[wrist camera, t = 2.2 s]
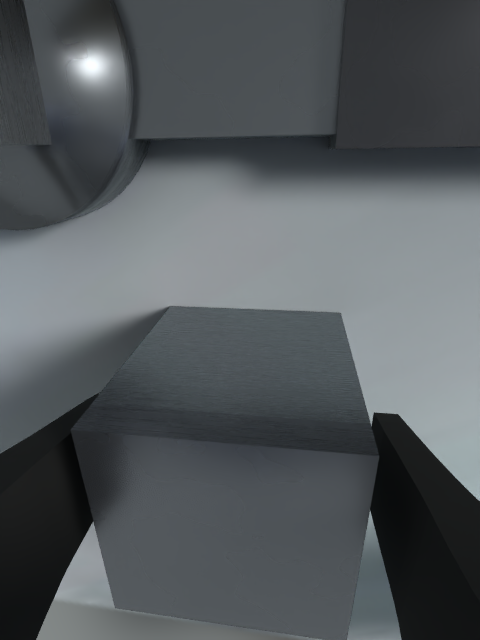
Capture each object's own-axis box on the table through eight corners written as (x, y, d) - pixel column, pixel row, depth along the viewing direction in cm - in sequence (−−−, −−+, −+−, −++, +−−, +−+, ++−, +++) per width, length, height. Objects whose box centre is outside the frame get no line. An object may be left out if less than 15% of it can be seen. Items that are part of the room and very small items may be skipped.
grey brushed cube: (340, 312, 12) (379, 456, 6) (326, 448, 14) (346, 642, 8) (170, 306, 12) (70, 430, 7) (183, 436, 14) (115, 608, 9)
